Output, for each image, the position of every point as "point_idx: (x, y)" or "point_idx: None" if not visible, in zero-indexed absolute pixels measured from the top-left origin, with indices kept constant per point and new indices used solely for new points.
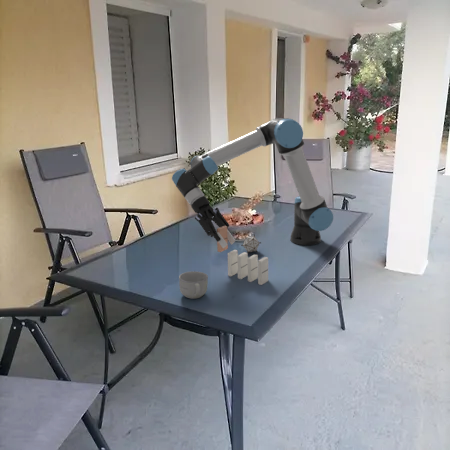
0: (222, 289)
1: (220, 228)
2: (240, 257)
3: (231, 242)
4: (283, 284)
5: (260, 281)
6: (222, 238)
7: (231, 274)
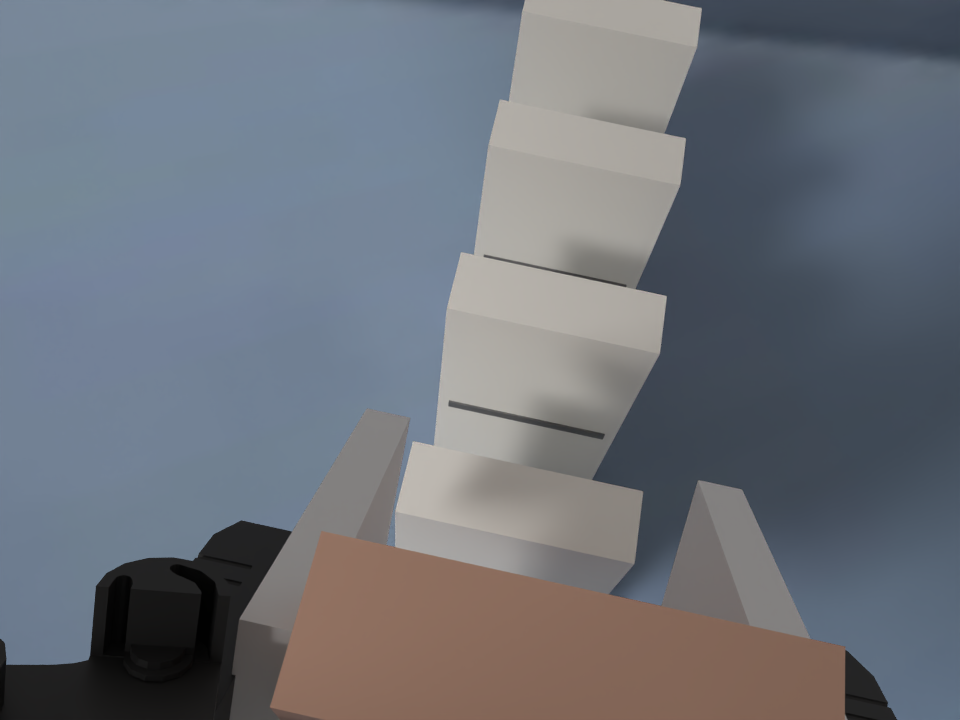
0: (938, 541)
1: (715, 682)
2: (663, 304)
3: (384, 536)
4: None
5: None
6: (768, 582)
7: None
